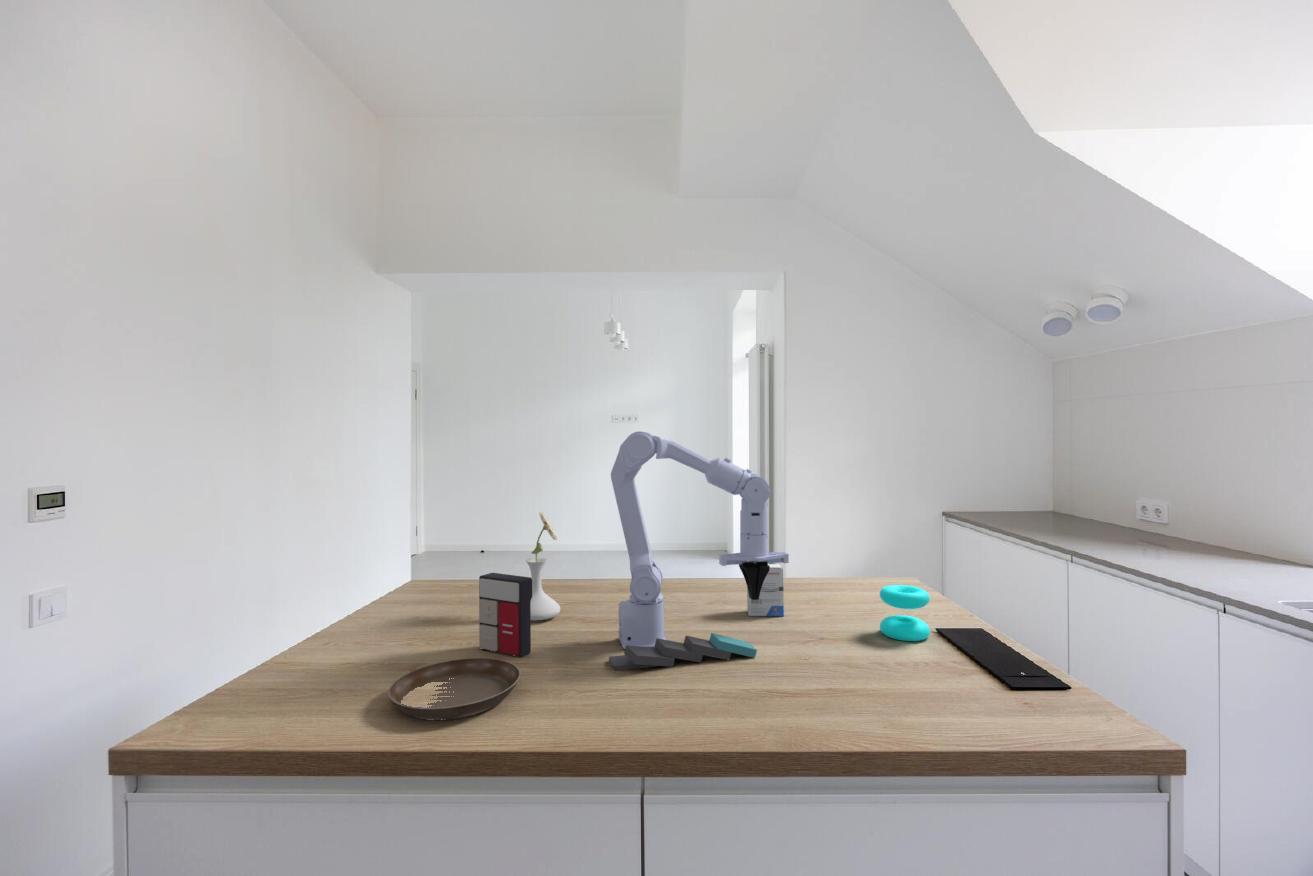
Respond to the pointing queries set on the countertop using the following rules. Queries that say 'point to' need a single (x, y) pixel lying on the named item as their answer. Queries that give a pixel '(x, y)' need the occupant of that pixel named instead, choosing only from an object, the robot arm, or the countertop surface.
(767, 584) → the ink box
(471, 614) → the countertop surface
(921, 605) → the donuts
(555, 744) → the countertop surface
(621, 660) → the black domino
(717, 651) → the black domino
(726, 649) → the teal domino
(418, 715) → the plant saucer
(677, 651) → the domino block
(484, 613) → the toy cabinet
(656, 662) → the black domino
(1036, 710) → the countertop surface
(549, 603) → the flower in vase
